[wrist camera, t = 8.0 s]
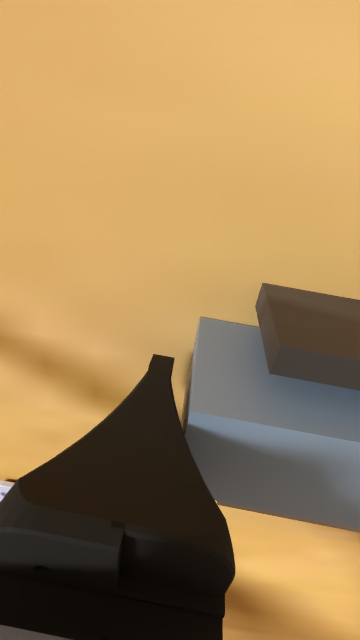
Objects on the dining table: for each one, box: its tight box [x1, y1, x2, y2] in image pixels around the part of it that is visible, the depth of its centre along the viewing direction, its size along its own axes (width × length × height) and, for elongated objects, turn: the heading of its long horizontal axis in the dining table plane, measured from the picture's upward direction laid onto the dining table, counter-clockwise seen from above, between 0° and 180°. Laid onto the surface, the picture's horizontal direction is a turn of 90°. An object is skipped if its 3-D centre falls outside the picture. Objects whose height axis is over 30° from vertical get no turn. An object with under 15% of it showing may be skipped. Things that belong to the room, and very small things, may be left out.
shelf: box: [217, 283, 360, 532], centre depth 12 cm, size 8×8×4 cm
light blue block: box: [181, 317, 360, 528], centre depth 11 cm, size 4×9×5 cm, turn 82°
